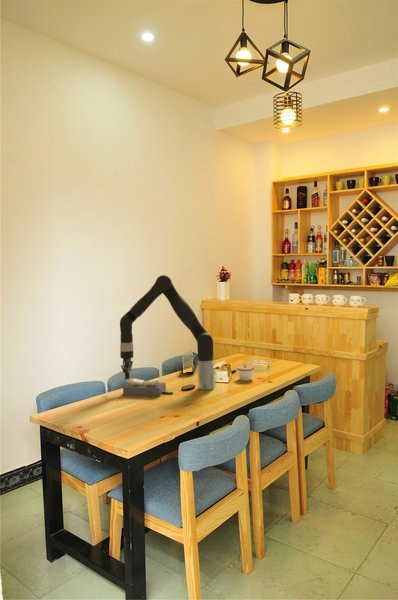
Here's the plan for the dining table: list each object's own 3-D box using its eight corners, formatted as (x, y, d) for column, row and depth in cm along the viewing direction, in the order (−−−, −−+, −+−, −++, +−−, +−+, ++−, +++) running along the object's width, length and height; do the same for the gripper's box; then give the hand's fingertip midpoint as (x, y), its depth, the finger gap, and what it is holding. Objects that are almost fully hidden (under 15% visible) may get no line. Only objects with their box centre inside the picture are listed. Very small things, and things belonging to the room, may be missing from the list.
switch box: (175, 391, 267) (175, 382, 266) (170, 397, 255) (169, 388, 254) (130, 390, 273) (130, 381, 272) (123, 395, 261) (122, 387, 261)
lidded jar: (256, 378, 289) (256, 363, 288) (249, 382, 280) (249, 367, 279) (241, 376, 295) (241, 362, 294) (234, 380, 286) (233, 365, 285)
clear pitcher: (199, 365, 332) (199, 351, 331) (195, 375, 304) (195, 359, 304) (187, 365, 333) (186, 351, 332) (181, 375, 305) (181, 360, 305)
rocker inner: (162, 381, 264) (161, 377, 264) (159, 383, 259) (158, 379, 259) (148, 384, 266) (147, 380, 266) (145, 387, 261) (143, 383, 261)
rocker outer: (144, 383, 267) (144, 380, 267) (140, 386, 262) (141, 382, 261) (129, 381, 269) (130, 377, 269) (126, 383, 263) (126, 379, 263)
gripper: (128, 352, 257) (129, 382, 259) (136, 347, 270) (137, 376, 272) (116, 351, 259) (117, 381, 260) (124, 347, 272) (125, 375, 273)
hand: (127, 378), depth 266 cm, fingers closed
